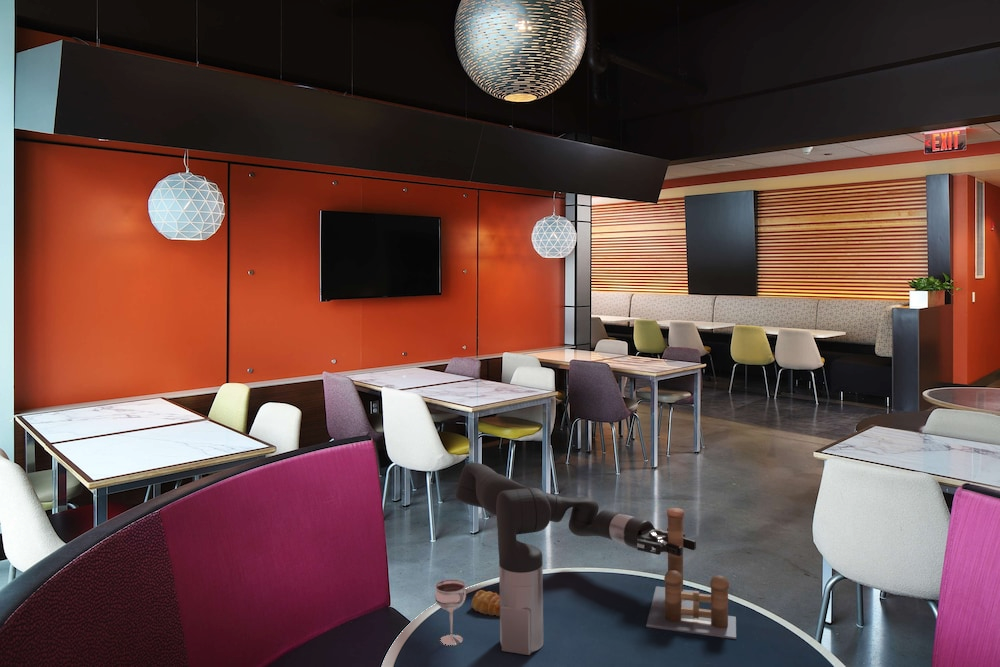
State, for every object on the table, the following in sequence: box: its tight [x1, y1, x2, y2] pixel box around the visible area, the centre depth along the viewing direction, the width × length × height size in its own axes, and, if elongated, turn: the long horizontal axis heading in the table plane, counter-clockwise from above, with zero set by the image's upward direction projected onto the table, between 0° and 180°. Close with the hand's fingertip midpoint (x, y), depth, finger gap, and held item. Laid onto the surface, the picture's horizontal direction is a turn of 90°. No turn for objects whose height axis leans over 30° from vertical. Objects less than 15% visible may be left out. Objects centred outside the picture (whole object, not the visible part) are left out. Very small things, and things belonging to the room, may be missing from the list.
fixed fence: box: [663, 570, 730, 628], centre depth 156 cm, size 4×14×12 cm, turn 71°
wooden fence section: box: [666, 507, 685, 591], centre depth 165 cm, size 12×4×21 cm, turn 164°
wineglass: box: [434, 578, 467, 647], centre depth 150 cm, size 7×7×12 cm
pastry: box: [470, 589, 500, 617], centre depth 164 cm, size 9×7×4 cm
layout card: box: [645, 585, 737, 640], centre depth 162 cm, size 22×19×1 cm
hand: (688, 548), depth 166 cm, fingers open, 5 cm apart
